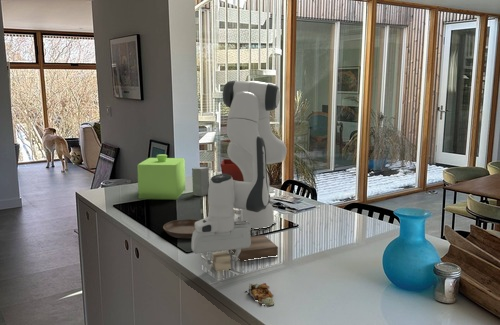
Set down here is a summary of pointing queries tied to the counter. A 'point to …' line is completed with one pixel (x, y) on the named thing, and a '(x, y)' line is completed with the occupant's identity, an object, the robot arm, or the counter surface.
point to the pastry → (261, 293)
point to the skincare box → (200, 181)
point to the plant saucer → (181, 228)
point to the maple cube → (221, 261)
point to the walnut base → (258, 248)
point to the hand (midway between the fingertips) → (221, 262)
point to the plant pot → (231, 170)
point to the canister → (161, 178)
